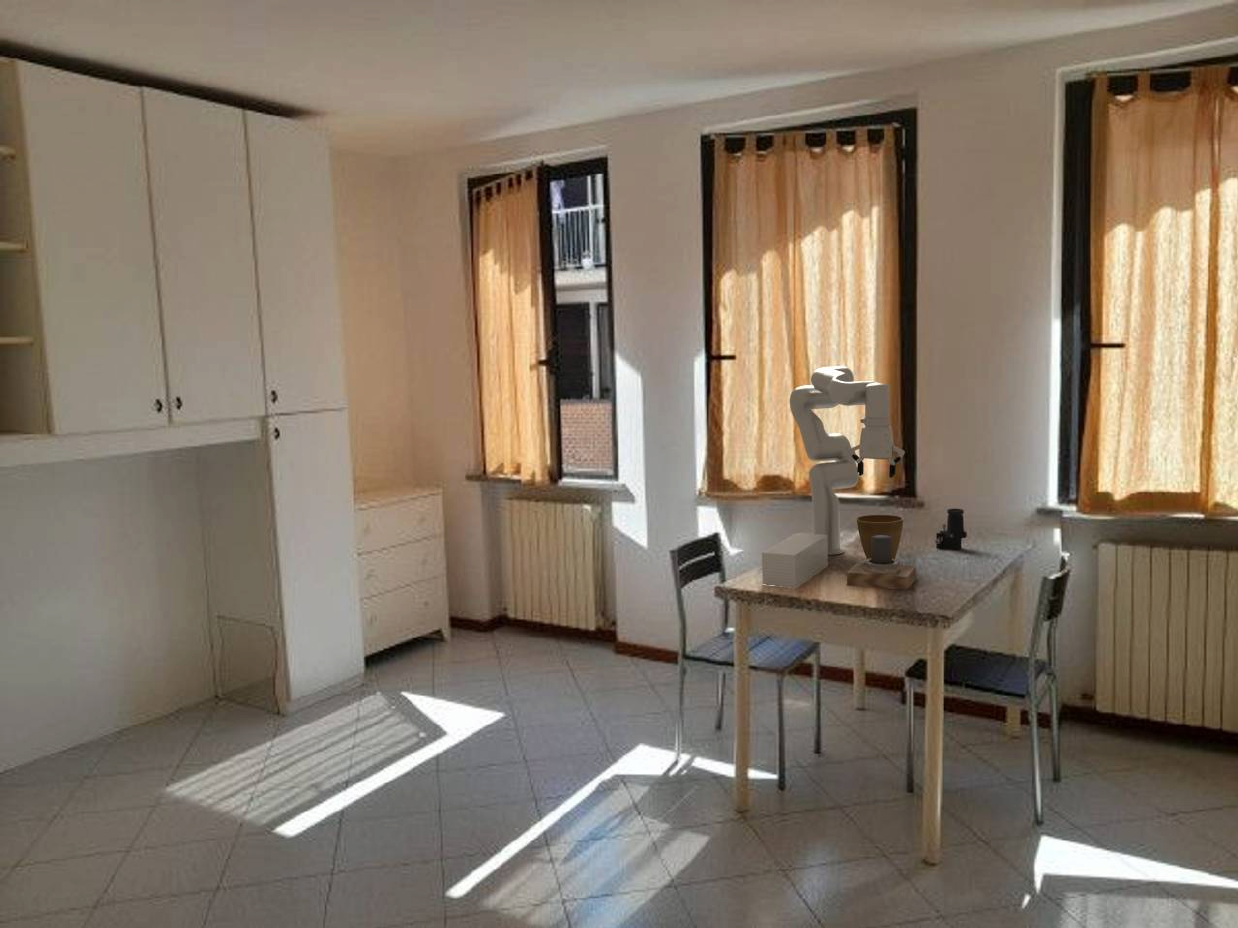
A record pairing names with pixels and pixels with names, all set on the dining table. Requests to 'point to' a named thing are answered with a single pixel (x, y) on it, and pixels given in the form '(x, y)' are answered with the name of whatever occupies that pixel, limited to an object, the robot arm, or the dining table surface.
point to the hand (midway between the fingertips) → (876, 476)
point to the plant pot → (879, 530)
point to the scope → (952, 531)
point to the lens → (881, 549)
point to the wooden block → (881, 575)
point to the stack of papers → (794, 560)
